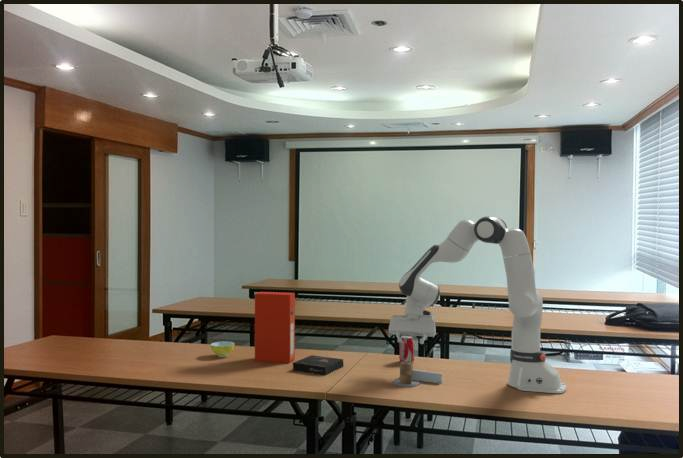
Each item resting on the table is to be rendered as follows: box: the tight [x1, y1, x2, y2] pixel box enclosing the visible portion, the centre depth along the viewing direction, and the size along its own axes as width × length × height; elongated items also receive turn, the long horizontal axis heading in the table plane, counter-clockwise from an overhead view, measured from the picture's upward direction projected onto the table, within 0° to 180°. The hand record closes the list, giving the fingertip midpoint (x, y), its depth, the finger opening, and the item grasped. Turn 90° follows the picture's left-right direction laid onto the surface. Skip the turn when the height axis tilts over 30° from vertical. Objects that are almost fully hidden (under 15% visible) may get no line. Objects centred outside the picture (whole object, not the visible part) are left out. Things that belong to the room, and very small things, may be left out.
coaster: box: [392, 378, 420, 388], centre depth 231 cm, size 11×11×1 cm
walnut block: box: [399, 361, 414, 384], centre depth 231 cm, size 4×4×8 cm
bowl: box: [210, 340, 236, 358], centre depth 276 cm, size 11×12×6 cm
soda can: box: [398, 335, 415, 363], centre depth 267 cm, size 7×7×12 cm
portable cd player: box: [292, 354, 344, 376], centre depth 253 cm, size 16×17×4 cm
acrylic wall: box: [398, 369, 443, 385], centre depth 235 cm, size 18×2×4 cm, turn 64°
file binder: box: [254, 291, 296, 364], centre depth 269 cm, size 8×17×32 cm, turn 78°
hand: (410, 342), depth 240 cm, fingers open, 8 cm apart
